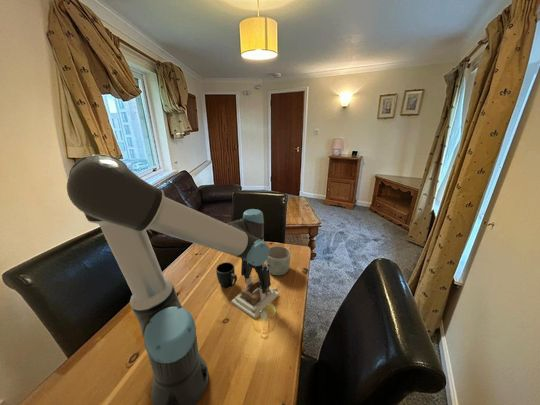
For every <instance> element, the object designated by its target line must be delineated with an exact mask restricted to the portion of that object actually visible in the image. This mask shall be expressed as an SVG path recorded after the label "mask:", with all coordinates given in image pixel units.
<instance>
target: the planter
mask: <svg viewBox="0 0 540 405" xmlns="http://www.w3.org/2000/svg"><path fill="white" fill-rule="evenodd" d="M269 250H270V252H269V256H268V258H267V260H266V261H265V263H266V265H268V264H269V265H270V268H269V274H271V275H273V276H284V275H285V274H286V273H287V272H289V269H290V265H291V254H292V252H291V250H290V249H289V248H287V247H286V246H281V245H274V246H270V247H269Z"/></svg>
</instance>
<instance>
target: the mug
mask: <svg viewBox="0 0 540 405" xmlns="http://www.w3.org/2000/svg"><path fill="white" fill-rule="evenodd" d="M215 270H216V279H217V280H218V283H219V285H220V287H221V288H222V289H229V288H234V286H235V285H236V283H237V281H238V275H237V274H235V270H236V269H235V265H234V264H233V263H231V262H222V263H220V264H218V265H217V266H216V268H215Z"/></svg>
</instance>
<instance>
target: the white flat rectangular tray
mask: <svg viewBox="0 0 540 405" xmlns="http://www.w3.org/2000/svg"><path fill="white" fill-rule="evenodd" d="M258 290H260V289H259V288H257V289H256V290H255V291H253V292H252V294H255V293H256V292H257V291H258ZM277 297H279V292H278V291H276V289H274V288H272V287H271V286H269V292H268V293H267V294H266V295H265V297H264V298H263V299H262V300H260V301H258V302H257V303H256V304H255V305H253V304H251V303H250V302H248V301H247V300H245V299H244V298H242V291H241V292H239V294H237V295H236V296H235V297H234V298H233V299H232V300H231V303H232V304H233V305H234V306H236V307H237V308H239V309H240V310H241V311H243V312H244V313H246V314H247V315H249V316H250V317H251V318H252V319H256V318H257V317H258V316H259V315H260V314H261V313H260V311H261V310H262V309H264V308H265V307H266V306H267V305H268V304H269V305H270V304H271V303H272V302H273V301H274V300H276V298H277ZM269 305H268V306H269ZM268 306H267V307H268ZM267 307H266V308H267ZM266 308H265V309H266ZM265 309H264V310H265ZM259 313H260V314H259ZM258 314H259V315H258Z"/></svg>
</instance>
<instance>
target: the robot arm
mask: <svg viewBox="0 0 540 405" xmlns="http://www.w3.org/2000/svg"><path fill="white" fill-rule="evenodd" d="M66 191H67V196H68V198H69V201H70V202H71V203H72V205H74V206H75V207H76V208H77V210H79V211H80V212H82V213H83V214H84V216H85V218H86V220H87V221H88V222H89V223H93V224H96V225H98V226H99V227H100V229H101V233H102V234H103V236H104V238H105V240H106V242H107V245H108V246H109V249H110V250H111V253H112V254H113V256H114V259H115V261H116V262H117V265H118V267H119V269H120V271H121V273H122V275H123V278H124V279H125V282H126V284H127V285H128V287H129V289H130V291H131V294H132V295H131V296H130V300H129V304H130V307H131V309H132V311H133V313H134V315H135V317H136V319H137V321H138V324H139V327H140V330H141V334H142V337H143V343H144V347H145V351H146V352H147V355H148V361H149V363H150V367H151V371H152V375H153V378H152V384H151V388H150V399H151V402H152V405H197V404H198V403H199V402H200V401H201V399H202V398H203V395H204V394H205V392H206V390H207V387H208V383H209V368H208V365H207V363H206V361H205V359H204V358H203V357H202V355H201V354H200V352H199V347H198V338H197V332H196V330H197V327H196V323H195V320H194V318H193V315H192V313H191V312H190V311H189V310H188V309H186V308H185V307H183V306H182V304H181V301H180V300H179V297H178V295H177V292H176V289H175V286H174V284H173V282H172V281H171V280H170V279H169V278H165V277H164V273H163V271H162V269H161V266H160V263H159V261H158V259H157V256H156V253H155V251H154V249H153V246H152V244H151V241H150V237H149V234H148V233H147V230H151V231H154V232H157V233H161V234H164V235H168V236H170V237H173V238H177V239H180V240H182V241H186V242H188V243H193V244H196V245H198V246H203V247H205V248H208V249H211V250H215V251H218V252H221V253H225V254H227V255H230V256H233V257H237V258H239V259H241V269H240V271H241V272H240V274H241V276H242V277H244V279H245V280H244V283H245V286H246V287H247V286H248V285H250V284H251V283H252V282H253V279H252V271H253V269H254V270H255V271H254V272H255V273H256V274H257V278H258V279H259V281H260V284H261V286H260V300H262V299H263V298H264V297H265V293H266V291H267V288H268V287H271V284H272V282H271V275H270V274H271V273H270V272H269V268H270V265H269V264H268V265H267V263H266V260H267V258H268V256H269V252H270V250H269V248H270V247H269V244H267V243H266V242H265V237H264V236H265V235H264V232H265V229H264V226H265V220H264V213H263V211H261V210H260V209H258V208H257V209H255V208H250V209H246V210H245V211H244V212H243V214H242V218H240V219H236V220H233V221H230V222H226V223H225V222H223V221H221V220H218V219H217V218H214V217H212V216H209V215H208V214H205V213H203V212H200V211H198V210H196V209H194V208H192V207H189V206H187V205H185V204H182V203H180V202H178V201H175V200H173V199H171V198H169V197H167V196H165V193H164V191H163V190H162V189H160V188H158V187H156V186H154V185H152V184H150V183H149V182H147V181H145V180H143V179H142V178H141V177H139V176H138V175H137V173H134V172H133V171H132V170H131V169H130V168H129V167H128V166H127V164H126V163H125V162H124V161H122V160H121V159H119V158H117V157H115V156H114V155H113V156H112V155H107V154H102V153H101V154H91V155H88V156H84V157H82V158H80V159H78V160H77V161H75V163H73V164H72V165H71V168H70V170H69V172H68V179H67V182H66ZM246 287H245V288H246Z"/></svg>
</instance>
